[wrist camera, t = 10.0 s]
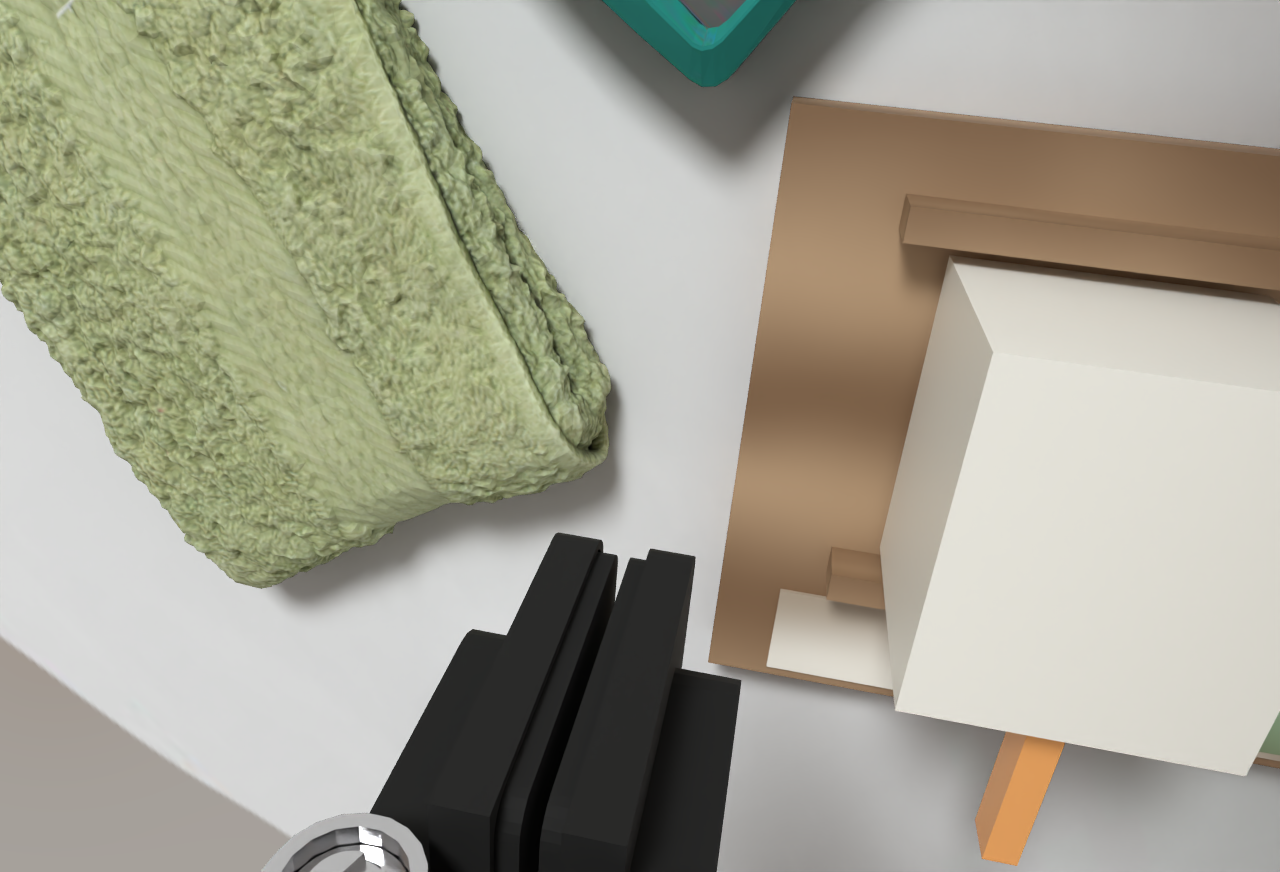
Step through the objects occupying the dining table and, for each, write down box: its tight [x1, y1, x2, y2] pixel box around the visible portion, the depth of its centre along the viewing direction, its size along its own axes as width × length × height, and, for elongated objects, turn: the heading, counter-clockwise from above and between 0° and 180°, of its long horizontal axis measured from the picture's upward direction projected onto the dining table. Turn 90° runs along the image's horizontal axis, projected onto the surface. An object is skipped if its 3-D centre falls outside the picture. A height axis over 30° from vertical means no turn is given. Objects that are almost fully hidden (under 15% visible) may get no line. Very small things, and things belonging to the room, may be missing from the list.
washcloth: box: [0, 0, 611, 589], centre depth 21 cm, size 13×18×3 cm
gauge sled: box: [880, 255, 1280, 866], centre depth 18 cm, size 11×14×6 cm
